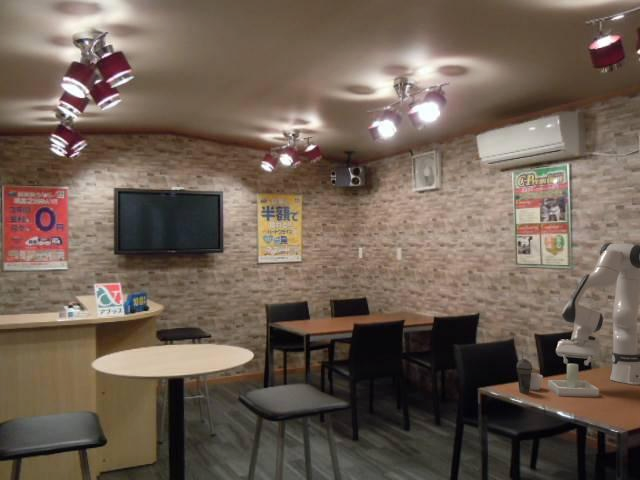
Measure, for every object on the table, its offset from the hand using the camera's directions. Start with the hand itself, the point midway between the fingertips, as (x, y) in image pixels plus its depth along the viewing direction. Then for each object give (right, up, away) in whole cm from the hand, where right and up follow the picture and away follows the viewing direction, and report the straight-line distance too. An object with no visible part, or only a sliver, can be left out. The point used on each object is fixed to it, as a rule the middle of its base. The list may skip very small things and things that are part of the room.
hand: (575, 363), depth 265 cm
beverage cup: (-26, -13, -4) cm, 29 cm away
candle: (-19, -13, +4) cm, 23 cm away
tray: (-3, -13, -3) cm, 13 cm away
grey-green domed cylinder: (-3, -12, -3) cm, 12 cm away
